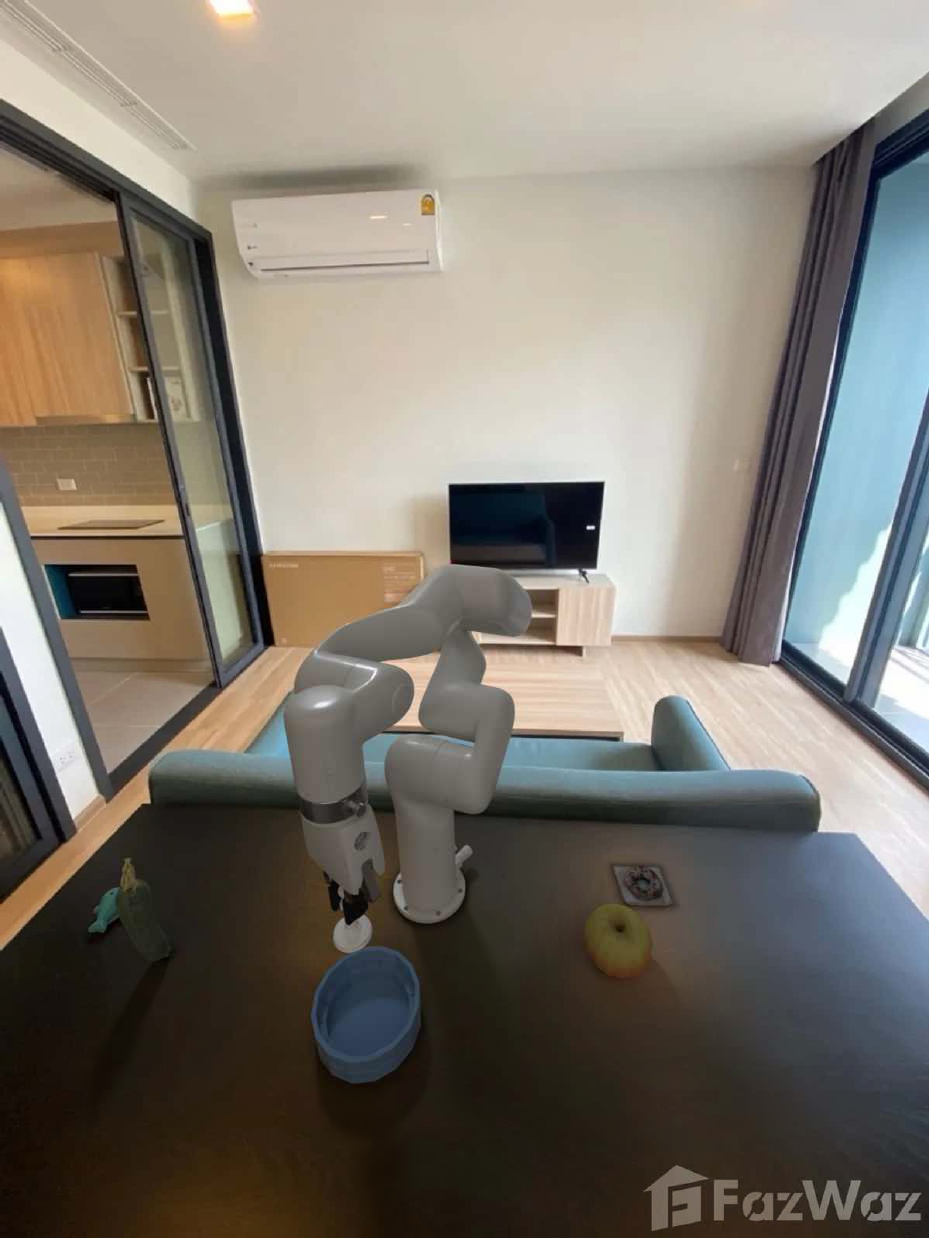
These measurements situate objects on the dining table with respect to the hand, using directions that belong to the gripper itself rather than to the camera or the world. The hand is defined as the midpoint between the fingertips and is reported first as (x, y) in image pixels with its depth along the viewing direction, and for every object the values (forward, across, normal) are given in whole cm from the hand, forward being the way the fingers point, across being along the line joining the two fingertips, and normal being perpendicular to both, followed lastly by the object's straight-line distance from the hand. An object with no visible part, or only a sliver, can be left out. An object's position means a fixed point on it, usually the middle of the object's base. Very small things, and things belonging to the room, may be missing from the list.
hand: (350, 908), depth 62 cm
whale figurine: (+21, +44, +19) cm, 52 cm away
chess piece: (+5, 0, 0) cm, 5 cm away
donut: (+20, -21, -45) cm, 54 cm away
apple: (+21, -23, -30) cm, 43 cm away
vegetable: (+21, +30, +17) cm, 40 cm away
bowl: (+20, -2, 0) cm, 21 cm away
